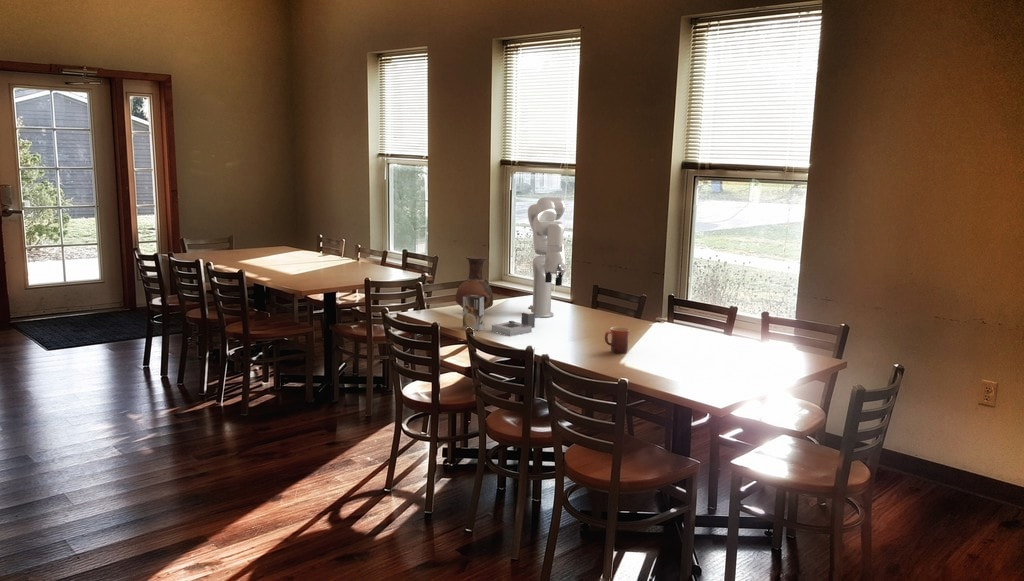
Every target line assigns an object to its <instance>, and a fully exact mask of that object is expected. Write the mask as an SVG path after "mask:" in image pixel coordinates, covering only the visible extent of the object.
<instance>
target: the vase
mask: <svg viewBox="0 0 1024 581" xmlns="http://www.w3.org/2000/svg"><path fill="white" fill-rule="evenodd" d="M465 259H467V260H468V264H469V267H468V268H469V274H468V278H467V279H466V280H464V281H462V283H461V284H460V285H459V286H458V288H457V289H456V294H455V303H456V304H458V306H460V307H461V308H462V309H463V296H465V295H478V296H485V304H484V311H486V310H488V309H490V308H491V307H492V306H493V304H494V294H493V292H492V291H493V290H492V288H491V286H490V283H489V281H488V280H487V279H484V278H483V266H484V262H485V261H486V260H488V259H487V257H486V256H485V257H484V256H469V255H468V256H466V257H465Z"/></svg>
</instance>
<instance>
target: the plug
mask: <svg viewBox="0 0 1024 581" xmlns="http://www.w3.org/2000/svg"><path fill="white" fill-rule="evenodd" d="M535 322H536V317H535V313H533V312H531V311H524V312H522V313H521V321H520V323H522V324H526V325H530V326H532V329H533V328H535V327H536V326H535Z"/></svg>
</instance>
